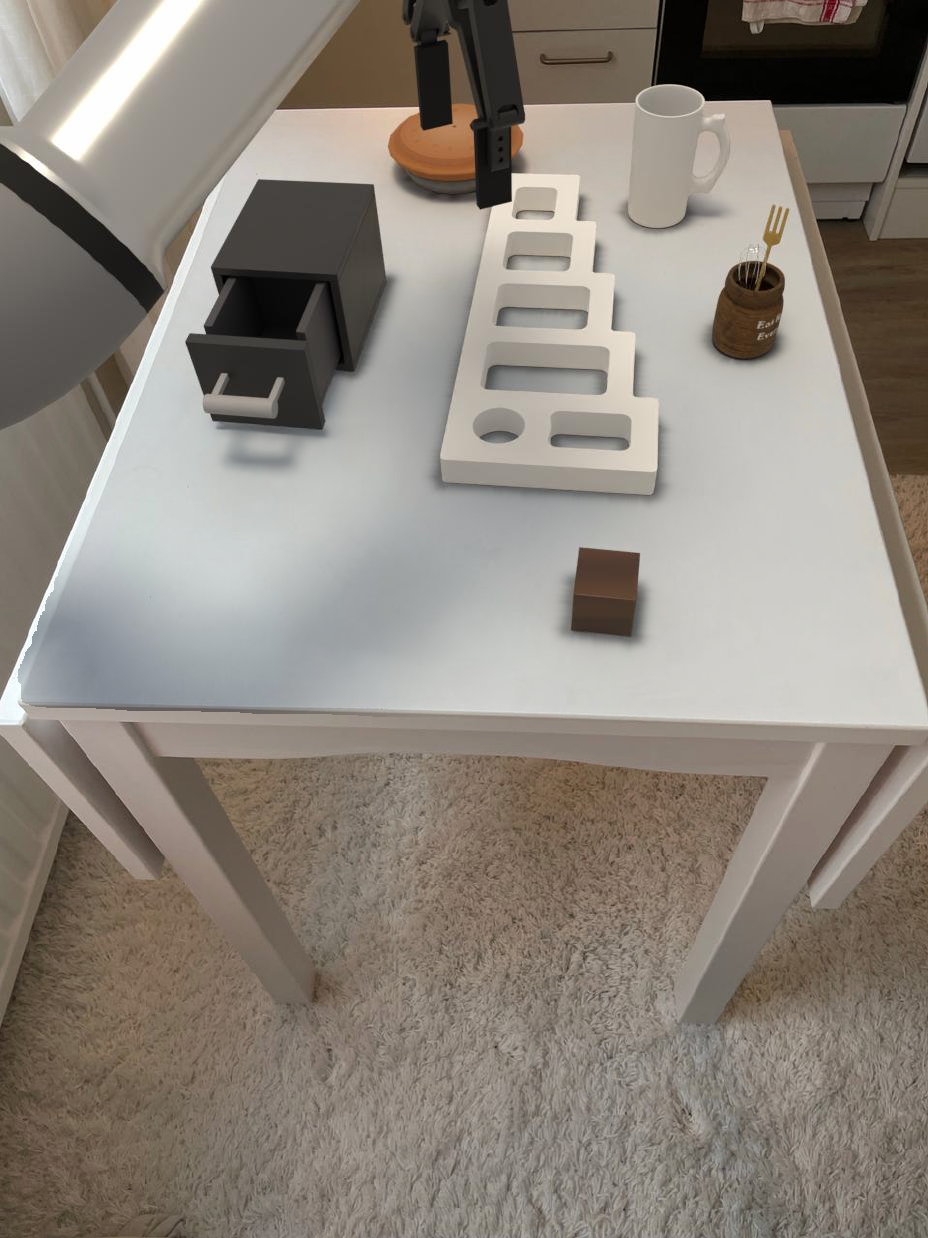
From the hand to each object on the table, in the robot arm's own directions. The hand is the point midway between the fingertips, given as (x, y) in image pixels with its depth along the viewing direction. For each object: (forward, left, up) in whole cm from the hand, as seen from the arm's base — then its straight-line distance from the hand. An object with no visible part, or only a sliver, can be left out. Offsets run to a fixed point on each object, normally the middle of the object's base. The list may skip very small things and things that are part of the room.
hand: (464, 162), depth 79 cm
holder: (+9, -1, -18) cm, 20 cm away
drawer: (-19, -1, -17) cm, 26 cm away
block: (-2, -35, -18) cm, 39 cm away
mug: (+28, +11, -18) cm, 35 cm away
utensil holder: (+24, -11, -18) cm, 31 cm away
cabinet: (-13, +9, -18) cm, 24 cm away
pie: (+10, +30, -18) cm, 36 cm away
